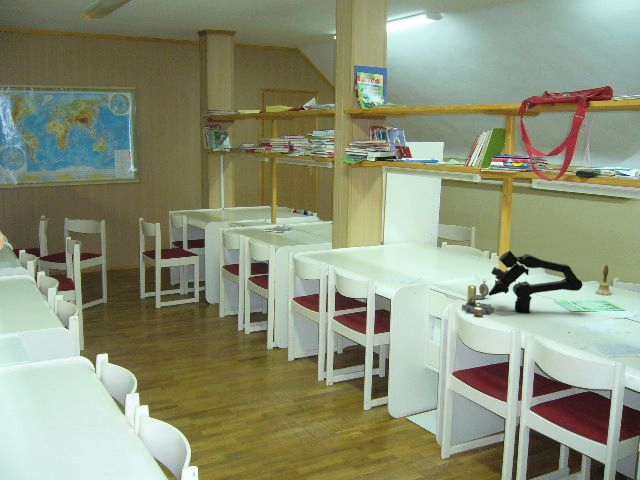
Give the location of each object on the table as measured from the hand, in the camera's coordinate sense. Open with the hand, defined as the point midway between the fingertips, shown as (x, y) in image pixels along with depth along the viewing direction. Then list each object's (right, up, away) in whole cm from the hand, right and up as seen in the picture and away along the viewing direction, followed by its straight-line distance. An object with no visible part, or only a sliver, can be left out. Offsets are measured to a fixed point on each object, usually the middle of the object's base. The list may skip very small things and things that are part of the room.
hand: (489, 294), depth 332 cm
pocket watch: (+1, -4, +24) cm, 24 cm away
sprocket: (-6, -8, -3) cm, 10 cm away
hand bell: (+73, -3, +38) cm, 83 cm away
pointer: (-8, -9, -13) cm, 18 cm away
